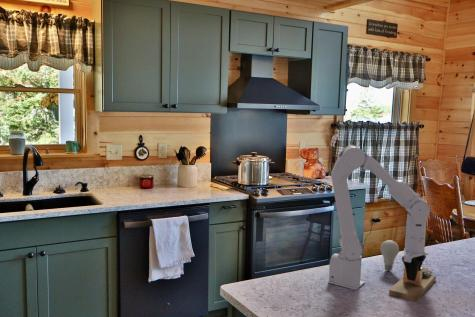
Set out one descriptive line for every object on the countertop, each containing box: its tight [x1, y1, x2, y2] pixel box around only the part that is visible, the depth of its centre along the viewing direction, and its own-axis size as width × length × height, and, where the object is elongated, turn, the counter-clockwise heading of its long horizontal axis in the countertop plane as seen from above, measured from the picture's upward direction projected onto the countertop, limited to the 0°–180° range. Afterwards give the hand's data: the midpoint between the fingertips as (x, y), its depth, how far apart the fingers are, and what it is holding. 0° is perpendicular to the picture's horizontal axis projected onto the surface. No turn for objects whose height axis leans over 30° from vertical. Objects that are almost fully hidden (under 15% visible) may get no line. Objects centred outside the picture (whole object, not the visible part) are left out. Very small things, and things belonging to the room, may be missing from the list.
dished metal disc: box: [420, 266, 429, 274], centre depth 149 cm, size 4×4×2 cm
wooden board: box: [388, 273, 437, 303], centre depth 142 cm, size 8×22×2 cm, turn 143°
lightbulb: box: [379, 239, 400, 272], centre depth 155 cm, size 6×6×11 cm
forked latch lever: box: [402, 266, 433, 286], centre depth 145 cm, size 5×16×5 cm, turn 143°
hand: (412, 278), depth 140 cm, fingers closed on forked latch lever, 2 cm apart
